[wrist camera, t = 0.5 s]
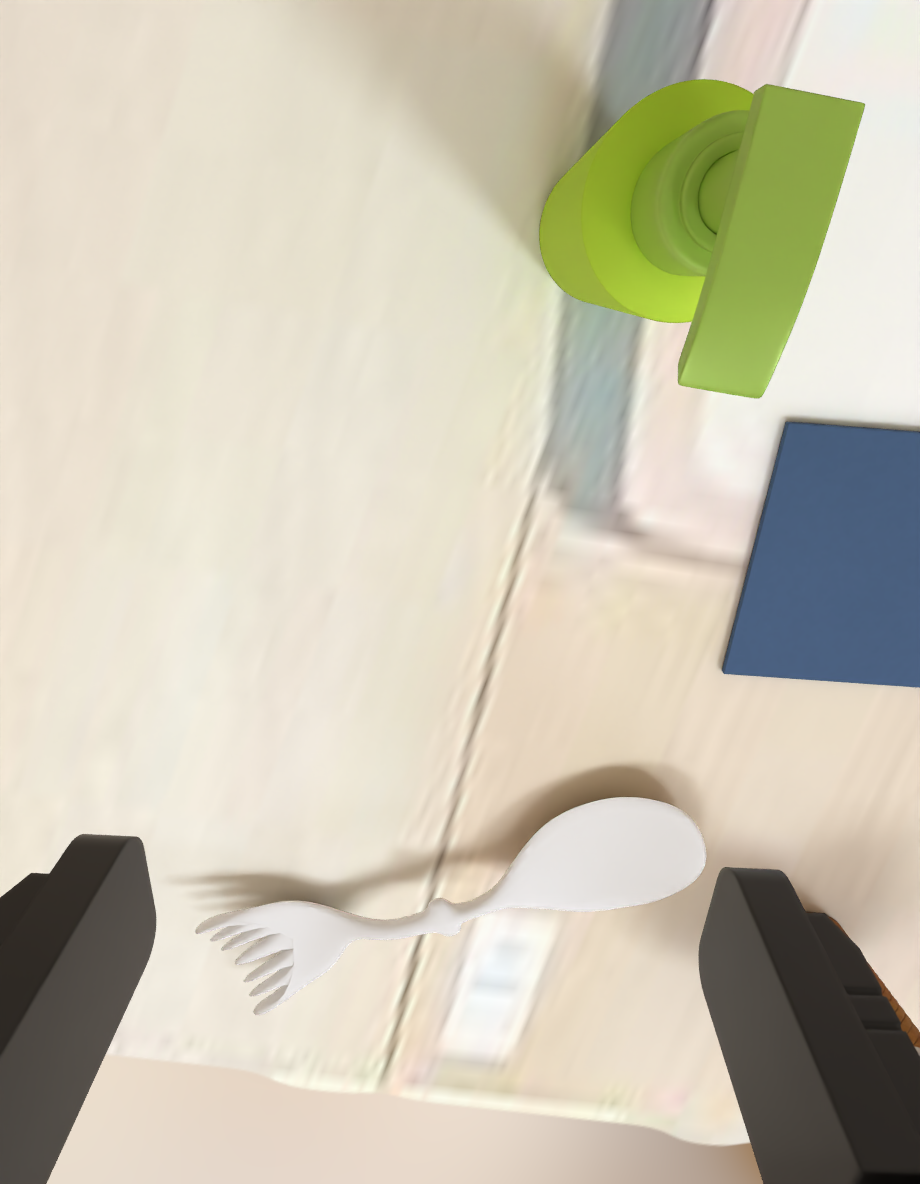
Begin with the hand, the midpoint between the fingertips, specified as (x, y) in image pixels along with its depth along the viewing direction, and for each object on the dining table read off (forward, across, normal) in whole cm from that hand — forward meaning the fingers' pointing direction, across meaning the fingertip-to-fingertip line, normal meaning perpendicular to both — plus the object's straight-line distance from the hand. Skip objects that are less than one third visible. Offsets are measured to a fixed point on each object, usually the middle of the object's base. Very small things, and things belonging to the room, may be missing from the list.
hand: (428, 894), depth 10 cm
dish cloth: (+28, -22, +6) cm, 36 cm away
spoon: (+28, -1, +29) cm, 40 cm away
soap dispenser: (+28, -6, -9) cm, 30 cm away
